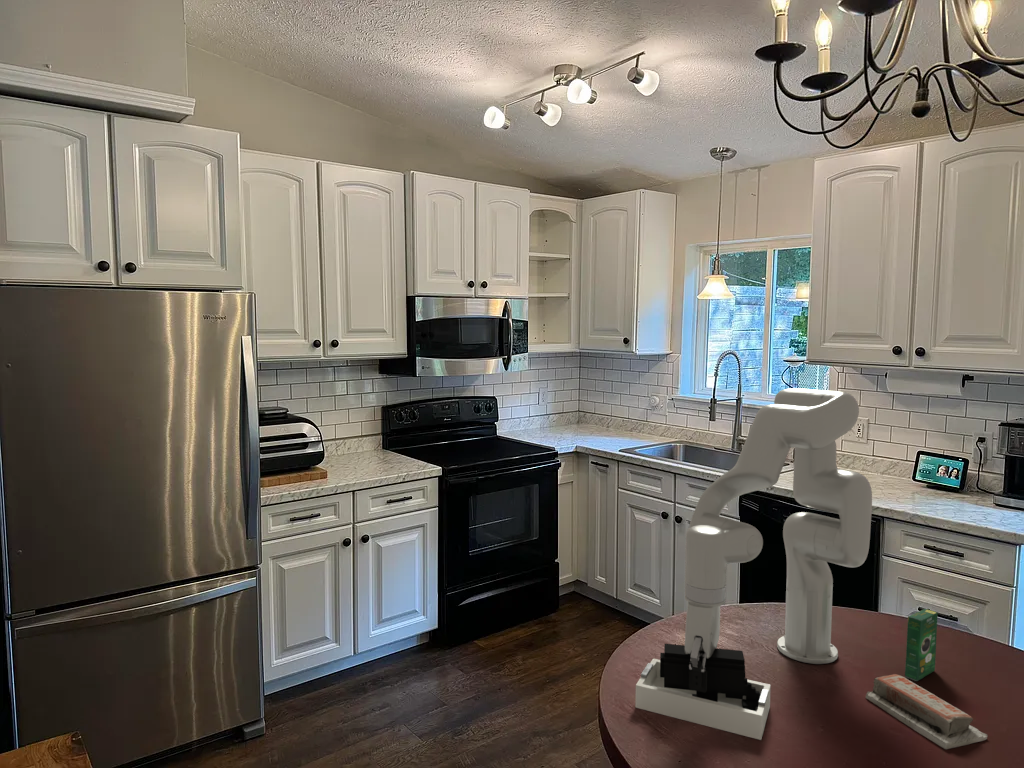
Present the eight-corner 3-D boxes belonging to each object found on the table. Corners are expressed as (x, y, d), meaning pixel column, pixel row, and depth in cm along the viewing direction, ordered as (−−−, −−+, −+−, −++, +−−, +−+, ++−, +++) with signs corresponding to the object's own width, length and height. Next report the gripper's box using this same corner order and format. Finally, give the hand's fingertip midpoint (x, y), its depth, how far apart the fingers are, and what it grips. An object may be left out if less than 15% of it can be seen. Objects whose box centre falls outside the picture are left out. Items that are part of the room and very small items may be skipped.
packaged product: (864, 676, 135) (903, 668, 138) (863, 699, 136) (902, 691, 139) (947, 725, 118) (989, 716, 121) (945, 752, 119) (988, 742, 122)
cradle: (652, 679, 143) (653, 655, 142) (770, 707, 132) (770, 681, 132) (635, 707, 132) (635, 681, 132) (761, 740, 122) (762, 712, 121)
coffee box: (921, 665, 148) (924, 606, 147) (936, 671, 146) (939, 611, 145) (903, 676, 144) (906, 616, 143) (918, 682, 141) (921, 620, 140)
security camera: (761, 718, 127) (763, 665, 126) (659, 706, 131) (660, 655, 130) (756, 698, 133) (758, 648, 133) (659, 688, 137) (660, 639, 137)
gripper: (695, 574, 140) (693, 655, 141) (673, 604, 124) (672, 695, 126) (733, 580, 136) (731, 663, 138) (716, 612, 121) (714, 705, 122)
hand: (703, 678), depth 132 cm, fingers open, 9 cm apart
